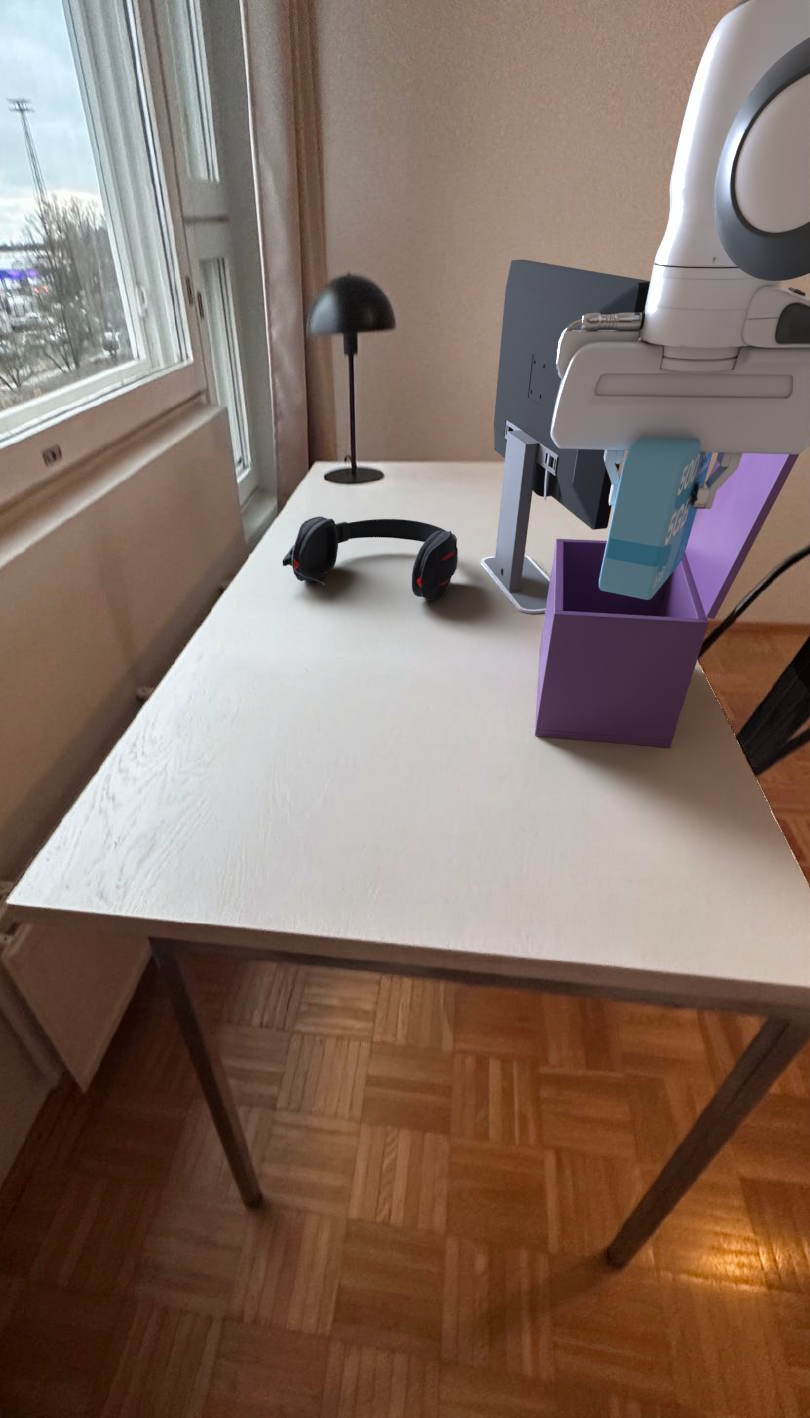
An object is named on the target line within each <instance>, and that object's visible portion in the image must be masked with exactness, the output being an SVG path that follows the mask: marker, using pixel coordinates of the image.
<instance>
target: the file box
mask: <svg viewBox="0 0 810 1418" xmlns="http://www.w3.org/2000/svg"><path fill="white" fill-rule="evenodd" d="M606 544H607V540H596V539H571V538H556V539H555V544H554V552H553V558H552V564H551V565H552V566H551V571H550V577H549V578H550V584H549V591H548V597H547V604H546V611H545V613H544V617H543V625H542V632H541V638H540V645H539V654H538V655H539V656H538V658H539V659H538V674H537V688H536V689H537V691H536V709H535V710H536V711H535V727H534V737H535V736H536V737H546V738H557V739H567V740H577V741H590V742H599V743H612V744H624V745H633V746H634V745H635V746H644V747H645V746H646V747H656V748H657V747H658V748H665V749H666V748H667V749H670V748H671V747H672V743H673V741H674V737H675V734H676V730H677V727H678V724H679V720H680V717H681V714H682V712H683V707H684V705H685V702H686V698H687V694H688V692H689V688H690V685H691V681H692V679H693V675H694V672H695V668H696V665H697V662H698V659H699V656H700V654H701V653H700V652H701V649H702V646H703V642H704V640H705V636H706V633H707V630H708V627H709V621H708V618H707V617H706V615H705V612H704V609H703V606H702V603H701V599H700V596H699V593H698V590H697V587H696V584H695V581H694V578H693V575H692V572H691V569H690V565H689V562H688V559H687V556H686V553H684V555H683V558H682V560H681V562H680V563H679V565H678V566H677V567H676V569H675V570H674V571H673V572H672V574H671V575H670V576H669V577H668V578H667V580H666V581H665V582H664V583H663V585H662V586H661V587H660V588H659V590H658V591H657V592H656V593H655V595H654V596H653V597H652V598H651V599H650V600H645V599H640V598H636V597H631V596H626V595H621V594H616V593H611V592H607V591H602V590H600V588H599V578H600V573H601V568H602V563H603V558H604V553H605V548H606Z"/></svg>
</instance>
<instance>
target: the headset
mask: <svg viewBox="0 0 810 1418" xmlns="http://www.w3.org/2000/svg"><path fill="white" fill-rule="evenodd" d="M365 538H366V539H367V538H387V539H397V540H407V541H415V542H421V543H423V544H422V545H421V547H420V548H419V550H418V551H417V552H418V553H417V555H416V557H415V560H414V563H413V567H412V572H411V591H412V593H413V595H414V596H416V597H417V598H424V599H426V600H429V601H430V600H437V599H440V598H442V597H444V595H446V593H447V591H448V589H449V586H450V583H451V580H452V577H453V576H454V574H455V573H456V571H457V568H458V557H459V556H458V555H459V553H458V552H459V551H458V550H459V549H458V537H457V536H456V534H454V533H453V532H452V531H451V530H449V531H447V530H446V529H444V528H442V527H440V526H436V525H434V524H431V523H427V522H423V521H419V520H411V519H404V518H403V519H401V518H375V519H374V518H373V519H365V520H356V521H351V522H348V521H342V522H337V523H336V521H335V520H334V519H333V518H327V517H324V516H314V517H312V518H309V519H306V520H305V521H304V522H302V524H300V527H299V530H298V532H297V535H296V538H295V542H294V544H293V545H292V546H291V548H290V549H289V551H288V552H287V554H285V556H284V557H283V559H282V566H283V567H286V566H291V567H292V571H293V574H294V576H295V578H296V579H297V580H298V581H299V582H303V581H305V582H307V581H308V582H319V583H321V584H322V585H320V586H318V588H322V587H324V586H325V583H324V582H322V581H320V579H321V578H323V577H325V576H326V575H327V574H328V573H329V572H330V571H332V569H333V568H334V566H335V565H336V563H337V557H338V550H339V544H341V543H344V542H348V541H349V540H353V539H365Z"/></svg>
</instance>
